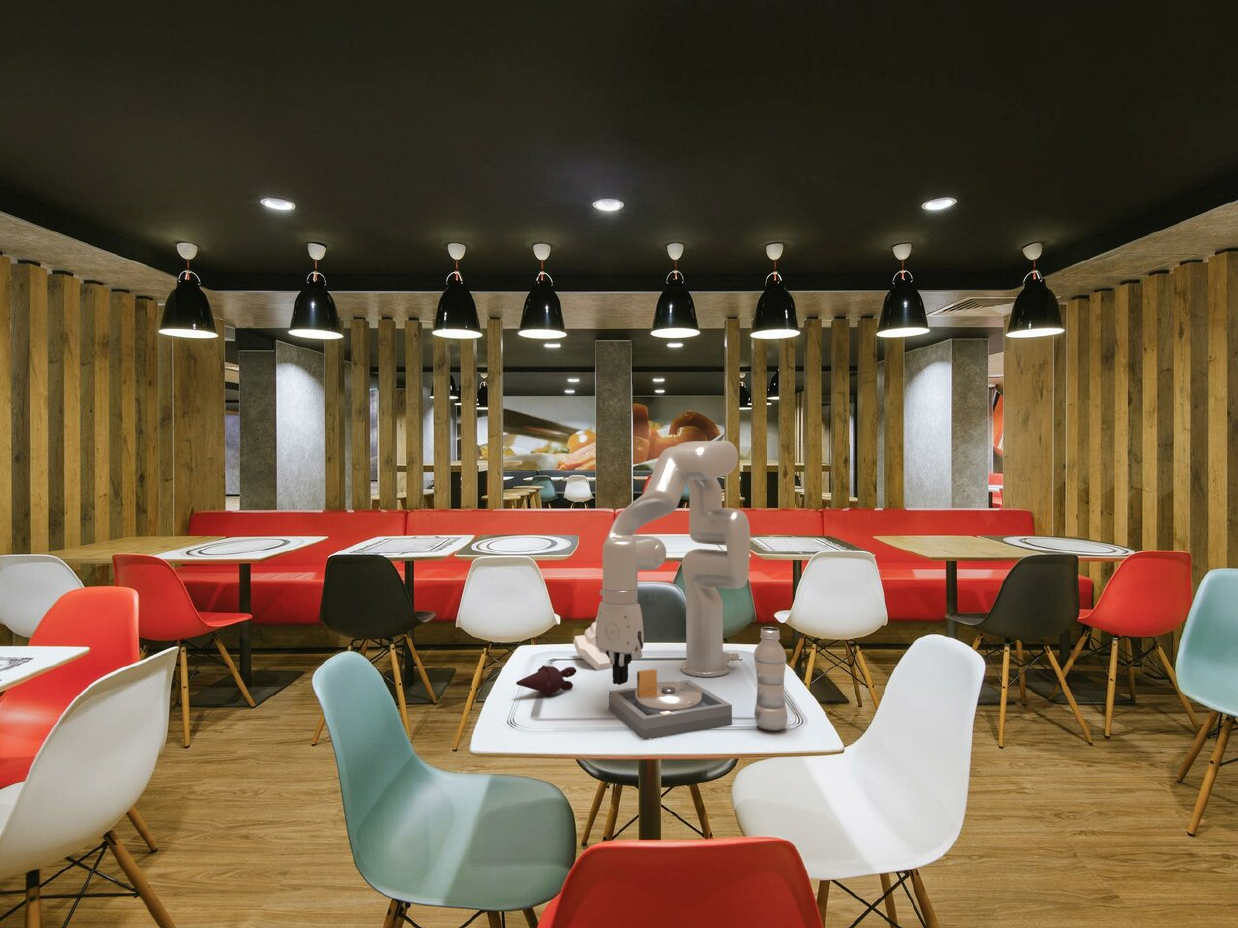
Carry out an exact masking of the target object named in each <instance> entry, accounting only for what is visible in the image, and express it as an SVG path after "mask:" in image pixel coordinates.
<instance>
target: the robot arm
mask: <svg viewBox="0 0 1238 928" xmlns="http://www.w3.org/2000/svg"><path fill="white" fill-rule="evenodd" d="M737 449H738V448H736V446H735V444H733V443H732V442H731V441H729V440H706V441H705V440H704V441H703V440H702V441H701V440H700V441H699V440H697V441H696V440H695V441H694V440H693V441H686V442H681V443H679V444H677V445H675V446H670V447H667V448H665V449H663V451H662V452H661V454H659V457H658V459H657V462H656V464H655V467H654V469H653V471H652V474H651V476H650V478H649V481H648V484H647V485H646V488H645V491H644V493H643V494H642V495H640V496H639V497H638V498H637V499H635V500H634V501H632V503H630V504H628V506H626V507H625V508H624V509H623V510H622V511H621V512H620V513H619V514H618V515H617V516H616V518H615V519H614V521H613V523H612V525H611V527H610V530H609V532H608V534H607V536H606V539H605V541H604V543H603V545H602V589H601V588H600V590H599V595H600V596H602V601H600V602H599V604H598V609H597V614H596V617H597V621H596V620H595V622H596V638H595V639H596V646H597V647H598V648H599V650H600V652H602V653H604V654H606V655H607V656H608V658H609V659H610V663H611V664H612V665H613V668H612V684H613V685H618V686H621V685H623V684H626V683H628V680H629V664H631V663H632V661H634V660H638V659H641V658H642V657H643V652H642V650H643V648H644V641H645V640H644V639H645V637H644V634H645V633H644V622H643V614H642V609H641V605H640V603H638V601H639V597H638V596H639V595H638V593H639V592H638V591H639V590H638V588H639V587H638V584H639V583H638V582H639V581H638V578H639V577H638V573H639V571H654V570H657V569H659V568H660V567H661V566H663V564H664V563H665V560H666V557H667V548H666V546H665V544H664V542H663V541H662V540H660V539H659V538H657V537H654V536H648V535H645V536H644V535H637V534H636V535H635V533H636V532H637V531H638V530H639V529H640V528H641V527H643V526H645V525H646V524H648V523H650V522H654V521H656V520H659V519H661V518H664V517H665V516H668V515H670V514H672V513H673V512H675V511H676V510H677V508H678V506H679V504H680V500H681V499H682V496H683V493H684V491H685V488H686V485H687V486H688V491H689V492H688V493H689V508H688V509H689V510H688V513H689V514H688V515H689V517H688V518H689V520H688V531H689V536H690V538H691V540H692V542H695V543H697V544H704V545H714V546H715V545H716V546H726V550H721V549H720V550H718V549H709V548H708V549H707V548H697V549H692V550H690V551H688V552H687V553H685V554H684V556H683V558H682V562H681V571H682V577H683V582H684V588H685V610H686V611H685V612H686V613H685V621H686V622H685V623H686V626H685V629H686V630H685V632H686V634H685V637H686V643H685V644H686V646H685V647H686V653H685V654H686V659H685V661H683V662H682V663H681V664H680V671H681V672H682V673H684V674H686V675H689V676H694V677H699V678H700V677H701V678H711V677H712V678H713V677H714V678H715V677H720V676H724V675H726V674H728V673H729V672H730V667H729V666H730V665H728V663H729V662H735V661H736V662H737V661H739V660H740V655H739V653H738V652H734V653H730V652H725V651H724V638H723V637H724V634H723V633H724V629H723V628H724V625H723V622H724V621H723V620H724V618H723V617H724V616H723V615H724V614H723V612H724V611H723V609H724V608H723V606H724V605H723V601H722V597H721V595H720V594H719V591H718V590H717V589H716V588H720V589H721V588H722V589H728V590H729V589H731V590H732V589H733V590H739V589H742V588H744V587H745V586H746V584H747V583H748V580H749V576H750V575H749V574H750V552H751V551H750V547H751V546H750V545H751V541H750V540H751V535H750V534H751V527H750V523H749V519H748V516H747V514H746V513H745V511H743V510H741V509H737V508H723V495H722V494H723V491H722V490H723V489H722V486H721V484H720V481H718V479H719V478H722V477H725V476H727V475H730V474H731V473H732V472H734V471H735V469H736V467H737V465H738V462H739V461H738V460H739V452H738V450H737Z"/></svg>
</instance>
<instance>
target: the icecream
mask: <svg viewBox="0 0 1238 928" xmlns="http://www.w3.org/2000/svg"><path fill="white" fill-rule="evenodd" d="M576 673H577V669H576V668H575V666H568V667H566V668H564V669H562V670H559V669H558V668H557V667H556V666H551V665H547V666H546V665H545V664H544V665H542V666H541V667H539V668H538V669H537V671H536V672H535V673H532V674H530V675H527V676H525V677H524V678H522V679H519V680H517V681H516V683H515V684H516V685H517V686H520V687H525V688H526V689H531V690H534V691H537V692H540V694H541V695H542V696H543V697H547V696H548V695H552V694H555V693H556V694H557V692H559V691H560V690H564V691H569V690H571V689H573V687H574V683H572V681H569V680H565V679H564V678H567V679H568V678H571V677H573V676H575V674H576Z"/></svg>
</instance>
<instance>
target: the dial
mask: <svg viewBox="0 0 1238 928" xmlns="http://www.w3.org/2000/svg"><path fill="white" fill-rule="evenodd" d="M657 672H658V670H656V669H655V668H653V669H652V668H651V669H645V670H637V671H636V688H637V689H636V691H635V707H636V708H638V709H639V710H640V711H642V712H643V713H644V714H646V715H655V714H660V712H664V711H670V712H673V711H680V710H686V709H692V708H698V707H702V692H701V690H700V689H699V688H697V687H695V686H693V685H690V684H686V683H680V682H679V681H658V679H657V678H658V674H657Z"/></svg>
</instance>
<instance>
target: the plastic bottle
mask: <svg viewBox="0 0 1238 928" xmlns="http://www.w3.org/2000/svg"><path fill="white" fill-rule="evenodd" d="M760 639H761V641H760V642H759V643H758V645H757V646H756V648H755V649H754V653H753V658H754V665H755V671H756V673H755V674H756V681H757V682H756V687H757V688H756V699H755V700H756V701H755V702H756V703H755V706H754V720H755V724H756V725H757V726H758V728H760V729H762V730H766V731H771V732H773V731H775V732H779V731H782V730H785V728H786V726H787V724H788V720H789V718H788V710H787V706H786V698H785V697H786V696H785V671H786V663H787V654H786V651H785V649H784V647H783V646H782V644H781V643H780V642H779V640H780V639H781V636H780V629H779V628H778V627H771V626H764V627H761V628H760Z"/></svg>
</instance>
